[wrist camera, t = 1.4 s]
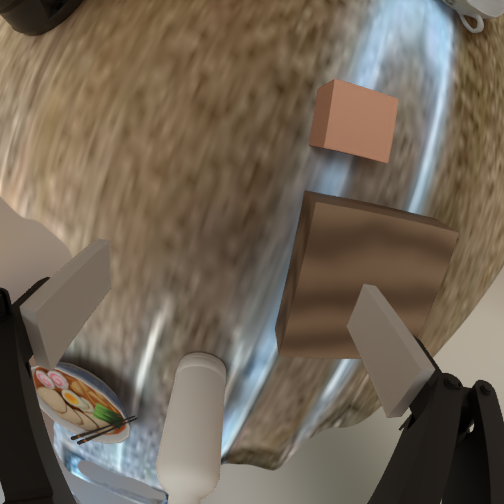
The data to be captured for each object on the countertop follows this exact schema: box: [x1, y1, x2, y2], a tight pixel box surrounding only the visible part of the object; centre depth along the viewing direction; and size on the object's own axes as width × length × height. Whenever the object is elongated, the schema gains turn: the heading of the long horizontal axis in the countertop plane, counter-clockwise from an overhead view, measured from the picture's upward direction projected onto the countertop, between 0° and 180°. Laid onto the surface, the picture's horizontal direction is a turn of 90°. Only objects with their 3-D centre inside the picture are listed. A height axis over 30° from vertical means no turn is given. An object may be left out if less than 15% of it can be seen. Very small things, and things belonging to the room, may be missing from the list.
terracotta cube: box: [309, 79, 398, 163], centre depth 28 cm, size 7×7×7 cm
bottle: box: [156, 352, 226, 504], centre depth 31 cm, size 8×8×30 cm
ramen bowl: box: [31, 362, 137, 445], centre depth 44 cm, size 25×23×8 cm
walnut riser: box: [275, 191, 459, 359], centre depth 36 cm, size 20×20×6 cm
